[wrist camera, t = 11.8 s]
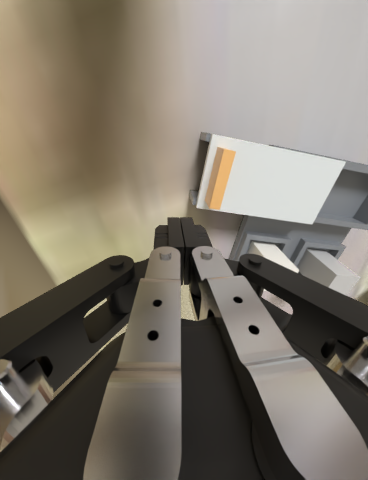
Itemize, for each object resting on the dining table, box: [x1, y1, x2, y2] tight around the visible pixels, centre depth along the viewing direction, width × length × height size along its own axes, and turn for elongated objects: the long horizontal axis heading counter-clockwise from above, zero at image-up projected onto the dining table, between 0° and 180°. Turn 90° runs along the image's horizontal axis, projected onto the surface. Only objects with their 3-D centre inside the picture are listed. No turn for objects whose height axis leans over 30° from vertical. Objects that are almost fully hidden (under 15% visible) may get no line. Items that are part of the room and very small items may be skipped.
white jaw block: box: [247, 241, 299, 291], centre depth 30 cm, size 4×4×7 cm
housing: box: [189, 132, 368, 296], centre depth 28 cm, size 27×20×8 cm
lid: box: [196, 134, 346, 224], centre depth 23 cm, size 16×8×4 cm, turn 80°
